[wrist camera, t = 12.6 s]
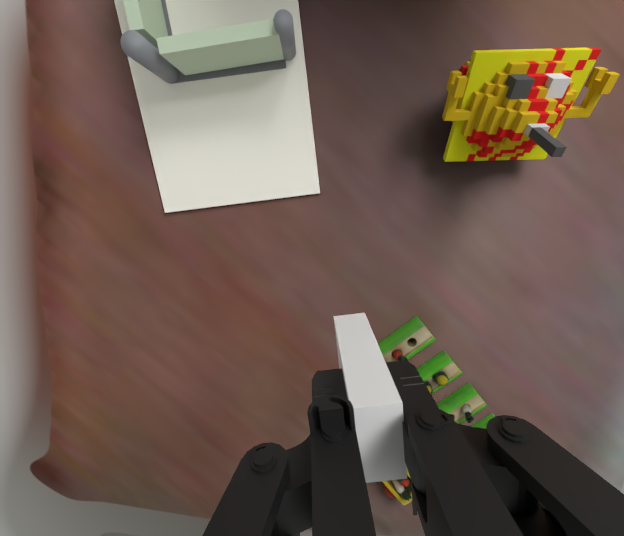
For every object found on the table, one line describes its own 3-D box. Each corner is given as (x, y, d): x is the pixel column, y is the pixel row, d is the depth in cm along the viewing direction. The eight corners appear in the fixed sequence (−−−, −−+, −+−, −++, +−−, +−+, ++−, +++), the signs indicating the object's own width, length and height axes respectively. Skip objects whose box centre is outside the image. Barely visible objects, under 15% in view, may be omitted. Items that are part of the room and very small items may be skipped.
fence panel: (185, 77, 34) (156, 53, 27) (181, 60, 33) (151, 31, 27) (297, 59, 34) (294, 30, 27) (294, 41, 33) (291, 7, 27)
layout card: (107, -35, 32) (104, -38, 32) (290, -61, 32) (290, -65, 31) (166, 212, 38) (164, 212, 38) (319, 192, 38) (320, 193, 37)
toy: (572, 32, 32) (704, 78, 22) (528, 131, 39) (611, 203, 29) (435, 36, 32) (500, 83, 22) (415, 134, 39) (456, 207, 29)
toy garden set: (506, 427, 47) (526, 453, 43) (398, 494, 51) (406, 525, 46) (415, 313, 43) (427, 329, 38) (301, 395, 46) (301, 418, 41)
